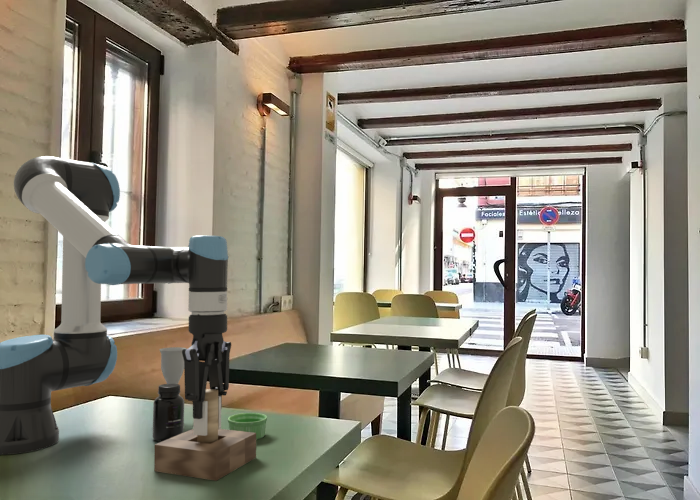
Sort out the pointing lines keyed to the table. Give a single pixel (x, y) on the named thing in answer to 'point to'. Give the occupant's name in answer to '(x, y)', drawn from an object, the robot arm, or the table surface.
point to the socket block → (205, 454)
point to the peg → (211, 418)
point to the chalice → (172, 364)
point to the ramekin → (248, 423)
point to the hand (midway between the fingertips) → (207, 431)
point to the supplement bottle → (168, 412)
